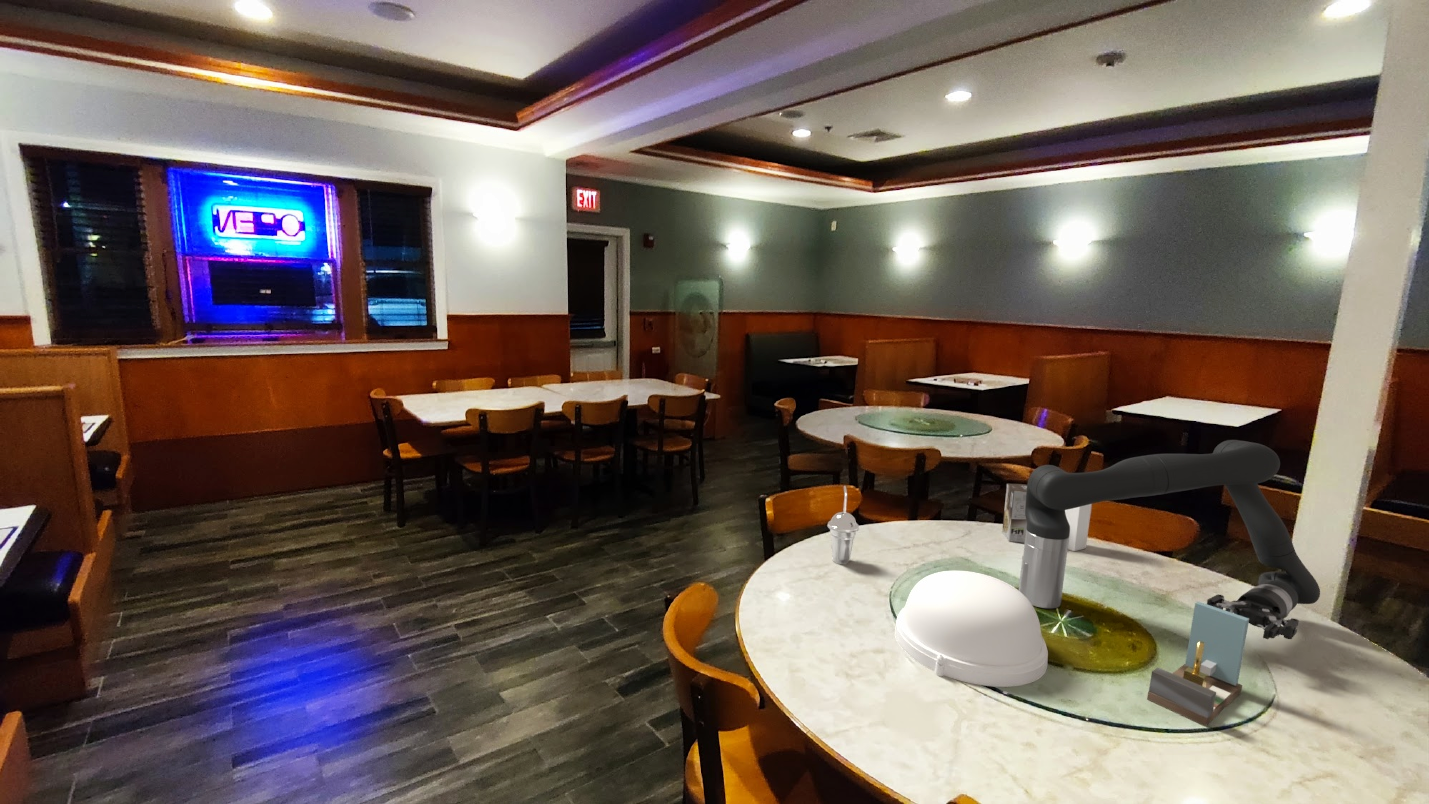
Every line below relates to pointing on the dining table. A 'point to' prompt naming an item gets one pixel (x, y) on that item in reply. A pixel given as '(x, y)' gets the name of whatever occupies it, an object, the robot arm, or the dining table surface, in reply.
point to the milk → (1078, 526)
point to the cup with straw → (842, 534)
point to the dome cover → (972, 630)
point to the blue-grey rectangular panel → (1218, 642)
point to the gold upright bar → (1196, 668)
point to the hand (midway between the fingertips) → (1239, 624)
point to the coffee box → (1015, 513)
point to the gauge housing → (1191, 695)
